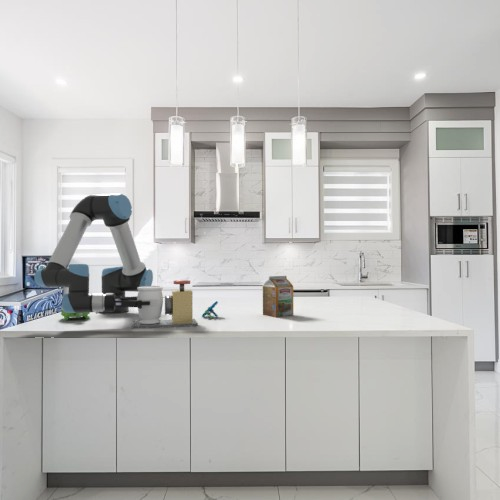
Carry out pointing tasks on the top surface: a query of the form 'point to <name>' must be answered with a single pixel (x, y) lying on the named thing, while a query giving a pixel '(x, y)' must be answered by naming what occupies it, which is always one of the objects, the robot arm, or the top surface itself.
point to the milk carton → (278, 297)
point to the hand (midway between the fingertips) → (158, 300)
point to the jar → (153, 312)
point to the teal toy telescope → (210, 310)
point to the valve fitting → (175, 309)
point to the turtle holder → (73, 315)
